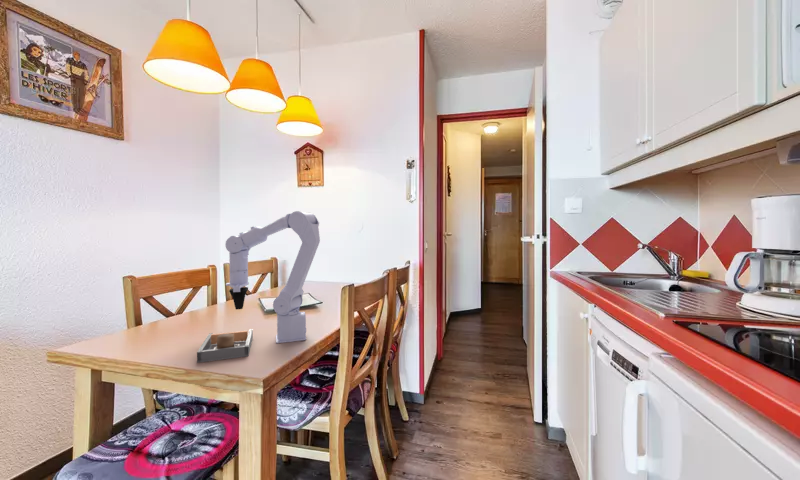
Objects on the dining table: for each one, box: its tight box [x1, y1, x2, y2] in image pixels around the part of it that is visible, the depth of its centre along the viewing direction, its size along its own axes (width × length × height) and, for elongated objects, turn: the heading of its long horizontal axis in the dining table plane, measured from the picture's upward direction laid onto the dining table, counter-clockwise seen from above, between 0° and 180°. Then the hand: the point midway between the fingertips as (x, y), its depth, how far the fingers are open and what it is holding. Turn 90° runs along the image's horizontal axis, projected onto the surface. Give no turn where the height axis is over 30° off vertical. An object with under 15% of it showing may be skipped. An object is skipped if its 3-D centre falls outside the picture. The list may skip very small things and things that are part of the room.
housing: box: [196, 328, 254, 364], centre depth 97 cm, size 13×17×3 cm
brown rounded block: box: [217, 334, 234, 349], centre depth 93 cm, size 4×4×5 cm
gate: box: [211, 330, 249, 344], centre depth 101 cm, size 10×1×3 cm, turn 112°
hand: (239, 308), depth 110 cm, fingers closed
